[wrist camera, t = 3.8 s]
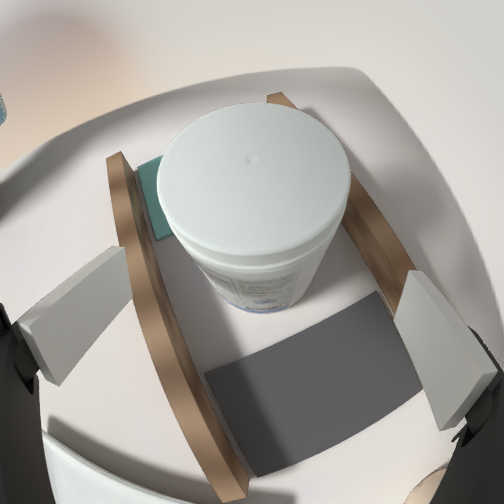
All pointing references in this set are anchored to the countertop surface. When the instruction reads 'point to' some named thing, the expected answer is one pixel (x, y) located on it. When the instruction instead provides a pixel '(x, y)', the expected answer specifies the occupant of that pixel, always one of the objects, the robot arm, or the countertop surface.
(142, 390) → the countertop surface
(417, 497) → the teacup with lid
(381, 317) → the trap mat
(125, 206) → the channel rails
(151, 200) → the pad
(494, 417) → the robot arm
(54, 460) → the square plate
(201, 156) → the supplement tub
